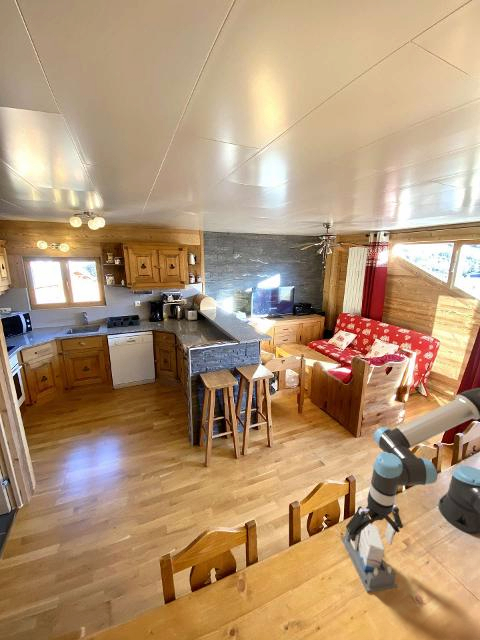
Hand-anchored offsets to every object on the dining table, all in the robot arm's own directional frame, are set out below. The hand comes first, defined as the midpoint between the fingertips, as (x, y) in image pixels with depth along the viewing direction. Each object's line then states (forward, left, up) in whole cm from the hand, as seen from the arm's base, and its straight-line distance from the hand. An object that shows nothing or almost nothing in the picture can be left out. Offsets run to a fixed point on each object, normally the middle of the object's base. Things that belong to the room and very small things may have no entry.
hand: (370, 543), depth 94 cm
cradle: (0, 0, -9) cm, 9 cm away
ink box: (0, 0, -8) cm, 8 cm away
